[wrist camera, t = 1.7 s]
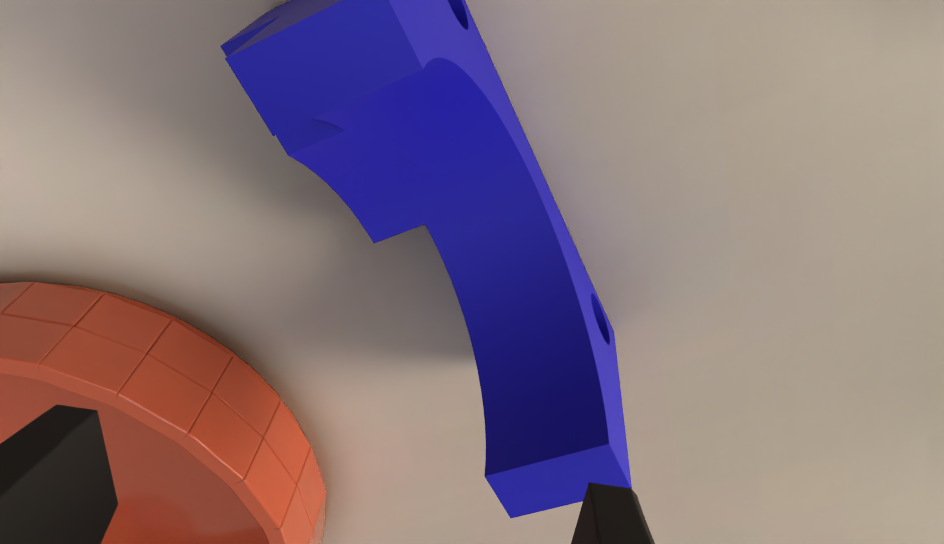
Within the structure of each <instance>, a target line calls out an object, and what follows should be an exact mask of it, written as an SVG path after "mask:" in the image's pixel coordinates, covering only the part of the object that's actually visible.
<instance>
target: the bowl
mask: <svg viewBox="0 0 944 544" xmlns="http://www.w3.org/2000/svg"><path fill="white" fill-rule="evenodd" d="M56 404H58V405H65V406H72V407H78V408H85V409H92V410H98V415H99V419H100V424H101V428H102V433H103V437H104V442H105V446H106V451H107V455H108V460H109V464H110V469H111V473H112V478H113V482H114V487H115V491H116V496H117V500H118V506H117V508H116V511H115V513H114V515H113V517H112V520H111V522H110V524H109V526H108V529H107V531H106V533H105V536H104V538H103V540H102V542H101V544H320V541H321V538H322V535H323V531H324V520H325V499H326V492H325V486H324V483H323V480H322V477H321V474H320V470H319V467H318V464H317V461H316V458H315V455H314V452H313V449H312V447H311V445H310V443H309V441H308V440H307V438H306V437H305V434H304V433H303V431H302V429H301V428H300V426H299V424H298V422H297V421H296V419H295V417H294V416H293V414H292V412H291V411H290V410H289V408H288V407H287V406H286V405H285V403H284V402H283V401H282V399H281V398H280V397H279V395H278V394H277V393H276V392H275V391H274V390H273V389H272V387H271V386H270V385H269V384H268V383H267V382H266V381H265V380H264V379H263V378H262V377H261V376H260V375H259V374H258V373H257V372H256V371H255V370H254V369H253V368H251V367H250V366H249V365H248V364H247V363H245V362H244V361H243V360H242V359H241V358H239V357H238V356H237V355H236V354H235V353H233V352H232V351H231V350H229V349H228V348H226V347H225V346H223V345H222V344H220V343H219V342H218V341H216V340H215V339H213V338H212V337H210V336H209V335H207V334H206V333H204V332H202V331H200V330H199V329H197V328H195V327H193V326H191V325H189V324H188V323H186V322H184V321H182V320H180V319H179V318H177V317H174V316H172V315H170V314H168V313H165V312H163V311H161V310H158V309H156V308H154V307H151V306H149V305H147V304H144V303H141V302H138V301H135V300H132V299H129V298H126V297H123V296H120V295H116V294H113V293H109V292H104V291H100V290H95V289H91V288H86V287H81V286H72V285H64V284H55V283H40V282H33V281H30V282H14V283H0V444H1V443H2V442H3V441H5V440H6V439H8V438H9V437H11V436H12V435H13V434H15V433H16V432H18V431H19V430H20V429H22V428H23V427H25V426H26V425H27V424H29V423H30V422H32V421H33V420H35V419H36V418H37V417H39V416H40V415H42V414H43V413H45V412H46V411H48V410H49V409H50V408H52V407H53V406H55V405H56Z"/></svg>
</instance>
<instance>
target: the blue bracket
mask: <svg viewBox="0 0 944 544" xmlns="http://www.w3.org/2000/svg"><path fill="white" fill-rule="evenodd" d="M221 48H222V50H223V51H224V53H225V54H226V56H227V57H226V58H225V59H226V61H227V62H228V64H229V66H230V67H231V69H232V71H233V72H234V74H235V75H236V77H237V79H238V80H239V82H240V83H241V85H242V87H243V88H244V90H245V91H246V93H247V95H248V96H249V98H250V100H251V101H252V103H253V104H254V106H255V108H256V109H257V111H258V112H259V114H260V116H261V117H262V119H263V120H264V122H265V124H266V125H267V127H268V128H269V130H270V132H271V133H272V135H273V136H275V135H276V137H277V138H278V140H279V142H280V143H281V145H282V146H283V148H284V150H285V151H286V153H287V155H288V156H290V157H292V158H294V159H295V160H297V161H299V162H300V163H302V164H304V165H305V166H306V167H308V168H309V169H311V170H312V171H313V172H315V173H316V174H317V175H318V176H319V177H320V178H322V179H323V180H324V181H325V182H326V183H327V184H328V185H329V186H330V187H331V188H332V189H333V190H334V191H335V192H336V193H337V194H338V195H339V196H340V197H341V199H342V200H343V201H344V202H345V203H346V204H347V206H348V207H349V208H350V209H351V211H352V212H353V213H354V215H355V216H356V217H357V219H358V220H359V221H360V223H361V224H362V226H363V227H364V229H365V230H366V232H367V233H368V235H369V236H370V238H371V239H372V241H373V243H376V242H379V241H382V240H384V239H387V238H390V237H392V236H395V235H398V234H400V233H403V232H405V231H408V230H411V229H413V228H416V227H419V226H421V225H424V224H425V225H426V227H427V229H428V231H429V233H430V235H431V237H432V239H433V241H434V243H435V245H436V247H437V249H438V251H439V253H440V255H441V258H442V260H443V262H444V264H445V267H446V269H447V271H448V274H449V276H450V279H451V281H452V284H453V286H454V289H455V292H456V295H457V297H458V300H459V303H460V306H461V309H462V312H463V315H464V318H465V322H466V325H467V328H468V332H469V335H470V339H471V343H472V347H473V351H474V355H475V360H476V365H477V369H478V374H479V380H480V386H481V392H482V399H483V407H484V417H485V431H486V465H485V478H486V479H487V481H488V482H489V484H490V486H491V487H492V489H493V491H494V492H495V494H496V495H497V497H498V499H499V500H500V502H501V503H502V505H503V507H504V508H505V510H506V511H507V513H508V515H509V516H510V518H514V517H518V516H522V515H527V514H531V513H535V512H539V511H543V510H547V509H552V508H556V507H560V506H564V505H568V504H572V503H577V502H581V501H583V500H584V497H585V493H586V490H587V486H588V483H589V482H591V483H598V484H605V485H612V486H619V487H626V488H631V489H632V487H631V478H630V469H629V460H628V452H627V443H626V434H625V425H624V416H623V408H622V399H621V390H620V381H619V372H618V364H617V355H616V346H615V337H614V331H613V329H612V327H611V325H610V323H609V320H608V318H607V316H606V314H605V311H604V309H603V307H602V305H601V303H600V300H599V298H598V296H597V294H596V291H595V289H594V287H593V285H592V283H591V280H590V278H589V276H588V274H587V271H586V269H585V267H584V265H583V262H582V260H581V258H580V256H579V254H578V251H577V249H576V247H575V245H574V242H573V240H572V238H571V236H570V234H569V231H568V229H567V227H566V225H565V222H564V220H563V218H562V216H561V214H560V211H559V209H558V207H557V205H556V202H555V200H554V198H553V196H552V194H551V191H550V189H549V187H548V185H547V182H546V180H545V178H544V176H543V174H542V171H541V169H540V167H539V165H538V162H537V160H536V158H535V156H534V154H533V151H532V149H531V147H530V145H529V142H528V140H527V138H526V136H525V134H524V131H523V129H522V127H521V125H520V122H519V120H518V118H517V116H516V113H515V111H514V109H513V107H512V105H511V102H510V100H509V98H508V96H507V93H506V91H505V89H504V87H503V85H502V82H501V80H500V78H499V76H498V73H497V71H496V69H495V67H494V65H493V62H492V60H491V58H490V56H489V53H488V51H487V49H486V47H485V45H484V42H483V40H482V38H481V36H480V33H479V31H478V29H477V27H476V25H475V22H474V20H473V18H472V16H471V13H470V11H469V9H468V7H467V5H466V2H465V0H290V1H288V2H286V3H284V4H282V5H280V6H278V7H276V8H274V9H272V10H270V11H269V12H267V13H265V14H264V15H263V16H261V17H260V18H258V19H257V20H256V21H254V22H253V23H252V24H250V25H249V26H247V27H246V28H245V29H243V30H242V31H240V32H239V33H238V34H236V35H235V36H234V37H232V38H231V39H229V40H228V41H227V42H225V43H224V44H223V45H221Z"/></svg>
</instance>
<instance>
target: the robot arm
mask: <svg viewBox="0 0 944 544" xmlns="http://www.w3.org/2000/svg"><path fill="white" fill-rule="evenodd" d="M117 506H118V500H117V496H116V491H115V487H114V482H113V478H112V473H111V469H110V464H109V460H108V455H107V451H106V446H105V442H104V437H103V433H102V428H101V424H100V419H99V415H98V410H92V409H85V408H78V407H72V406H65V405H58V404H56V405H55V406H53V407H52V408H50V409H49V410H48V411H46V412H45V413H43V414H42V415H40V416H39V417H37V418H36V419H35V420H33V421H32V422H30V423H29V424H27V425H26V426H25V427H23V428H22V429H20V430H19V431H18V432H16V433H15V434H13V435H12V436H11V437H9V438H8V439H6V440H5V441H3V442H2V443H1V444H0V544H101V542H102V540H103V538H104V536H105V533H106V531H107V529H108V526H109V524H110V522H111V520H112V517H113V515H114V513H115V511H116V508H117ZM571 544H655V543H654V540H653V538H652V535H651V533H650V530H649V528H648V525H647V523H646V520H645V517H644V515H643V512H642V509H641V507H640V504H639V501H638V498H637V495H636V494H635V493H634V491H633V490H632V489H631V488H626V487H619V486H612V485H605V484H598V483H591V482H589V483H588V486H587V490H586V493H585V497H584V500H583V504H582V507H581V511H580V515H579V518H578V522H577V525H576V529H575V532H574V536H573V539H572V543H571Z"/></svg>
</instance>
